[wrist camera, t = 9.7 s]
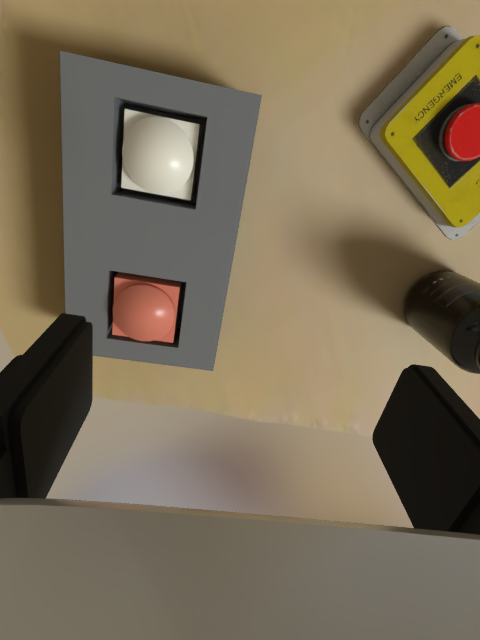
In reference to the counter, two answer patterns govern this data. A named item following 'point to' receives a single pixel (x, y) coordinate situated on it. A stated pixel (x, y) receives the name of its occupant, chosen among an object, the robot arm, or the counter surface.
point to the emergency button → (434, 129)
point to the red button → (145, 307)
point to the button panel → (150, 204)
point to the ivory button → (159, 154)
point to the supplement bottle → (448, 316)
